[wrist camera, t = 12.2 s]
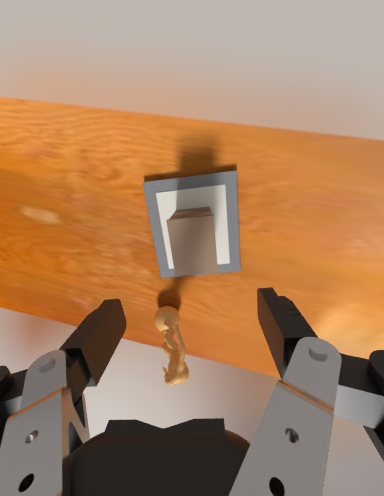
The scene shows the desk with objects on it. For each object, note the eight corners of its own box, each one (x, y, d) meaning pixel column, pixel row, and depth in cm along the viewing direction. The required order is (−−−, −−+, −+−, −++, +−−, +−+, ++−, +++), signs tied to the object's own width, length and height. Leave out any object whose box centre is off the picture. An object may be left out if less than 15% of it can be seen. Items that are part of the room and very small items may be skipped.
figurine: (161, 287, 31) (139, 349, 20) (197, 295, 31) (196, 361, 20) (153, 327, 34) (130, 401, 23) (187, 334, 34) (180, 411, 23)
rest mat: (235, 170, 25) (236, 170, 24) (239, 269, 29) (240, 271, 28) (144, 182, 26) (142, 182, 25) (162, 275, 30) (161, 278, 29)
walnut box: (210, 205, 25) (213, 215, 19) (213, 249, 27) (218, 272, 21) (175, 209, 26) (166, 220, 19) (181, 252, 28) (175, 275, 21)
